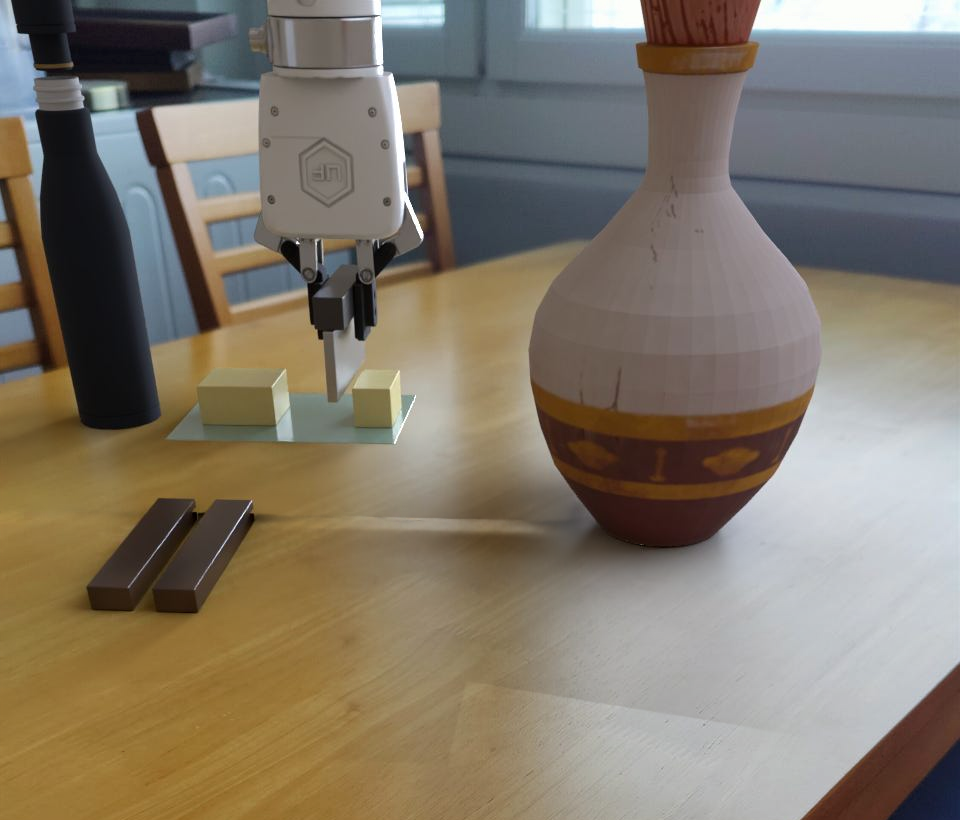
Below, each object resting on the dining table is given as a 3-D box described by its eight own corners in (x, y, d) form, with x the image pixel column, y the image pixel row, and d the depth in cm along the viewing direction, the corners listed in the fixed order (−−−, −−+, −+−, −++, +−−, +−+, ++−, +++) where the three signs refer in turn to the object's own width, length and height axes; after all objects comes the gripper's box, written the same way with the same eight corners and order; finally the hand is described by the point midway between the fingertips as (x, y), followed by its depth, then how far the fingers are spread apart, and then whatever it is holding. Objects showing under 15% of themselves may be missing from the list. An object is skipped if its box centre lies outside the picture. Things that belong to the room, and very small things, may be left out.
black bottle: (123, 446, 95) (32, -25, 77) (66, 433, 98) (-36, -25, 79) (180, 423, 99) (105, -28, 81) (123, 411, 102) (39, -29, 84)
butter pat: (354, 427, 95) (351, 388, 93) (365, 407, 99) (362, 369, 97) (392, 428, 95) (390, 388, 93) (401, 408, 98) (399, 369, 97)
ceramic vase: (574, 457, 92) (591, -33, 73) (814, 482, 87) (895, -36, 69) (490, 559, 77) (485, -21, 59) (772, 596, 72) (862, -23, 54)
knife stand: (90, 609, 72) (85, 586, 71) (161, 518, 83) (158, 497, 82) (198, 613, 72) (194, 589, 71) (255, 520, 83) (252, 499, 82)
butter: (202, 424, 96) (196, 386, 94) (218, 404, 100) (213, 367, 98) (276, 426, 95) (271, 387, 94) (290, 406, 99) (286, 368, 97)
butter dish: (166, 452, 94) (164, 439, 93) (208, 403, 103) (206, 391, 103) (395, 456, 92) (394, 443, 92) (417, 406, 102) (416, 394, 101)
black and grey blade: (347, 403, 90) (340, 299, 86) (318, 402, 90) (310, 298, 86) (374, 358, 99) (369, 263, 95) (347, 358, 100) (342, 262, 95)
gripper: (195, 52, 79) (230, 346, 90) (437, 54, 78) (442, 352, 89) (225, 44, 85) (254, 321, 96) (450, 45, 84) (454, 326, 95)
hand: (344, 333), depth 93 cm, fingers closed on black and grey blade, 2 cm apart
